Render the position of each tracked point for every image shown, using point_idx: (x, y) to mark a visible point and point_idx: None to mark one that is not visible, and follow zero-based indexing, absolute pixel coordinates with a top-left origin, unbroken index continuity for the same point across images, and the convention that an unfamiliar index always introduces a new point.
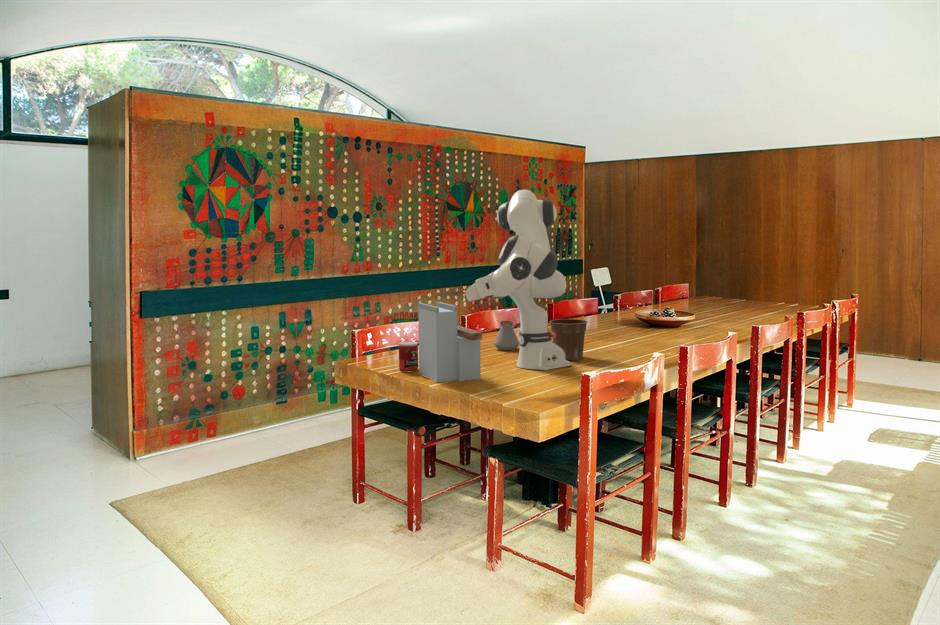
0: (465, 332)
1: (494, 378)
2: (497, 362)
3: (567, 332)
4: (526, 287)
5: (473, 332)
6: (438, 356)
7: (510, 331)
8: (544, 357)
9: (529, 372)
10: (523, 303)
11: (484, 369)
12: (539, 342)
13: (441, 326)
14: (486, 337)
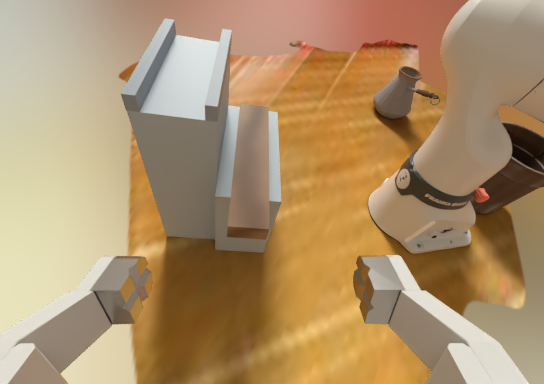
0: (231, 191)
1: (291, 263)
2: (346, 163)
3: (511, 178)
4: (522, 76)
5: (246, 212)
6: (162, 205)
7: (407, 91)
8: (427, 230)
9: (377, 252)
10: (469, 117)
11: (306, 191)
12: (438, 208)
13: (159, 152)
14: (380, 60)
